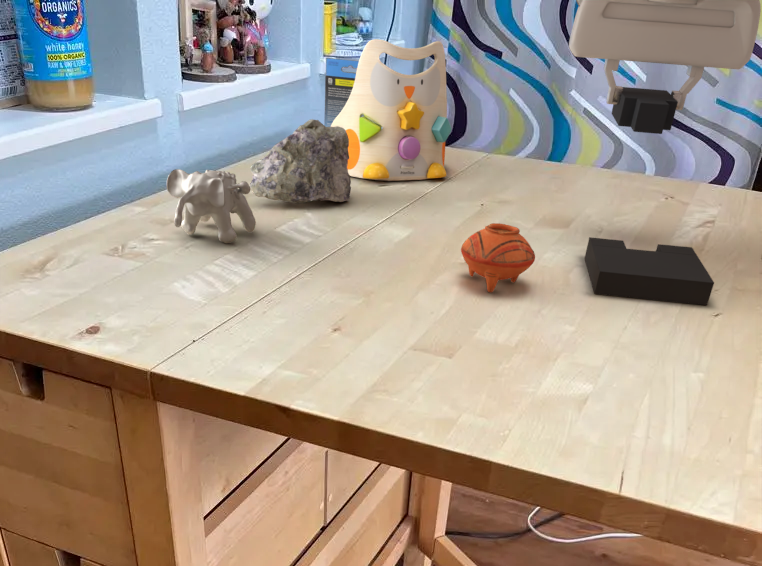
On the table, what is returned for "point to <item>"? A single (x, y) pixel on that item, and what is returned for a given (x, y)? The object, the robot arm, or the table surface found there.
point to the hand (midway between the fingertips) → (644, 106)
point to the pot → (497, 254)
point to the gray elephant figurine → (210, 201)
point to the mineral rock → (305, 166)
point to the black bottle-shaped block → (645, 110)
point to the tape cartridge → (337, 87)
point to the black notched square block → (647, 272)
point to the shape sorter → (397, 116)
